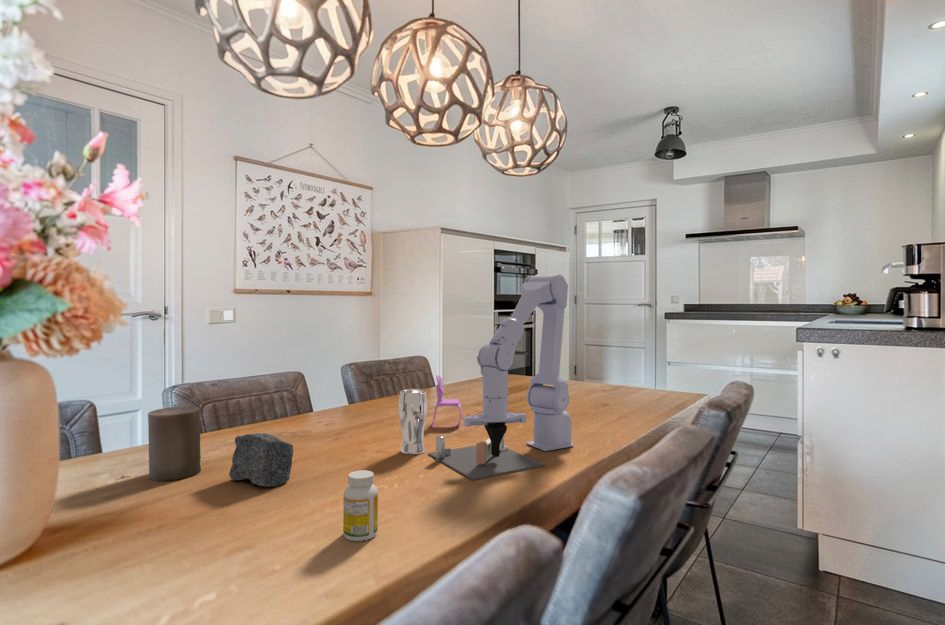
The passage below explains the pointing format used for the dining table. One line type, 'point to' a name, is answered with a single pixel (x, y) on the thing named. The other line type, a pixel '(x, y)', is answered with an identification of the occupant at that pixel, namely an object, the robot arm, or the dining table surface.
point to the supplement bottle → (360, 507)
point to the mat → (505, 463)
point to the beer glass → (413, 420)
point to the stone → (261, 459)
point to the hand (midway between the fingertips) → (495, 455)
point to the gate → (484, 451)
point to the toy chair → (445, 401)
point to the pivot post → (503, 445)
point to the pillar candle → (174, 443)
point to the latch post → (441, 448)
